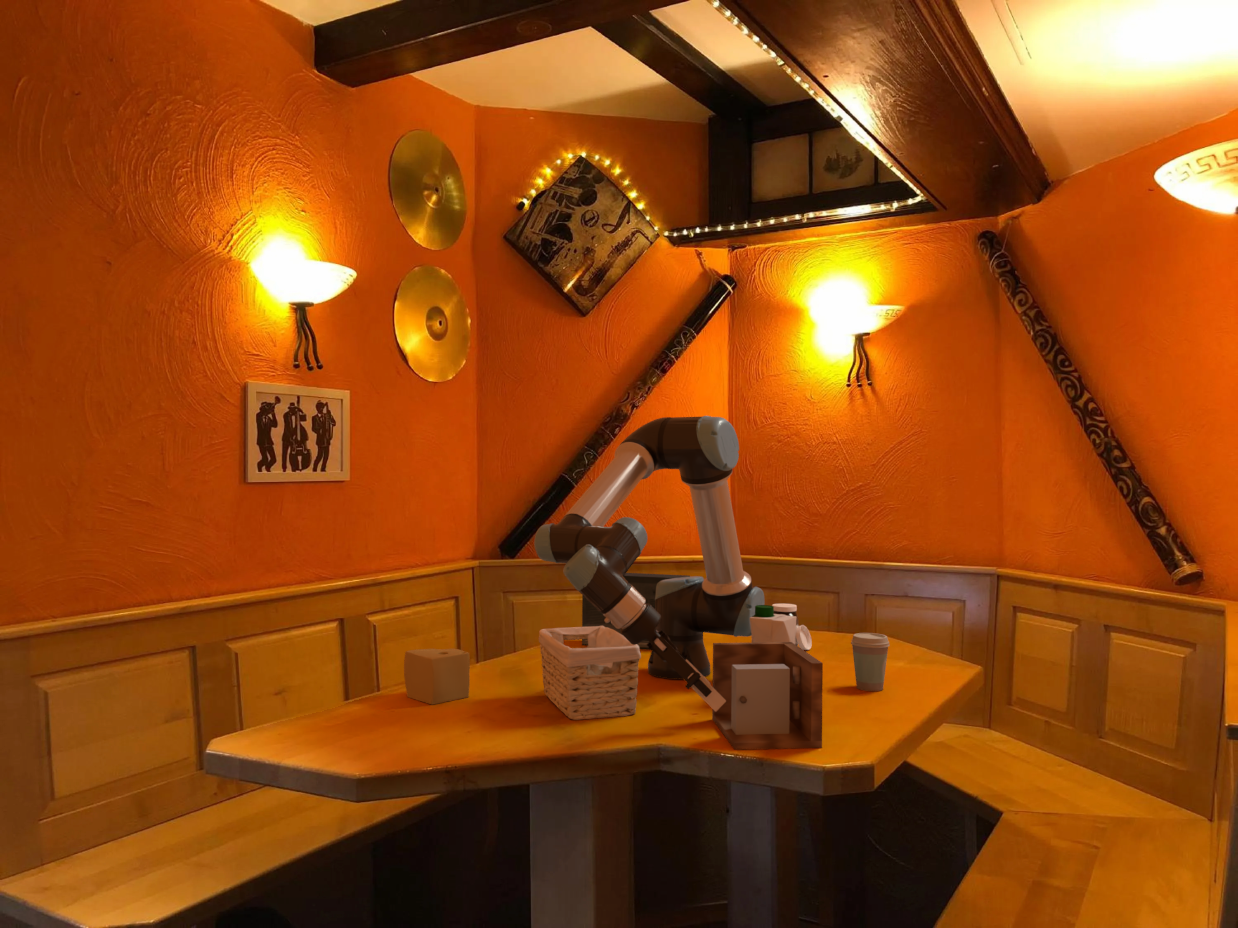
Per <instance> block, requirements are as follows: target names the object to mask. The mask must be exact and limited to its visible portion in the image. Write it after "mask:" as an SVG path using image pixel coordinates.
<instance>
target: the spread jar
mask: <svg viewBox="0 0 1238 928" xmlns="http://www.w3.org/2000/svg"><path fill="white" fill-rule="evenodd" d="M771 606H773V607H774V614H783V615H786V616H796V617H797V618H796V636H795V645H796V646H798V647H799V648H801V649H802V650H805V651H809V650H811V648H812V644H813V643H812V636H811V633H810V630H809V629H808V627H807V626H806V625H804V624H801V625H799V616H798V613H797V610H798V608H797V607H798V605H797V604H794V603H773V604H772V605H771Z"/></svg>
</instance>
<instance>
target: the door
mask: <svg viewBox="0 0 1238 928" xmlns="http://www.w3.org/2000/svg"><path fill="white" fill-rule="evenodd" d="M789 701H790V668H788V667H787V666H786V665H785V664H745V665H732V699H731V729H732V730H733V731H734V733H735V734H736V735H743V734H789Z"/></svg>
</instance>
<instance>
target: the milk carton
mask: <svg viewBox="0 0 1238 928" xmlns="http://www.w3.org/2000/svg"><path fill="white" fill-rule="evenodd" d="M796 618H797V617H796V616H786V615H783V614H774V607H773V606H772V605H770V604H769V605H767V604H764V605H757V606H755V615H754V616H752V617H750V625H751V634H752V635H751V643H762V642H792V643H794V644H795V636H796Z"/></svg>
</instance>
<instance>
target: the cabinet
mask: <svg viewBox="0 0 1238 928" xmlns="http://www.w3.org/2000/svg"><path fill="white" fill-rule="evenodd" d="M745 664H785V665H786V666H787V667H788V668H790V701H789V734H743V735H736V734H735V733H734V731H733V730H732V729H731V699H732V665H745ZM823 664H824V663H823V662H821V661H820V660H819V659H817V658H816V657H814V656H813V655H811V654H810V653H809V652H807V651H806V650H805V651H804V650H802V649H801V648H800V646H799V645H798V646H796V645H795V644H794V643H792V642H762V643H752V642H713V643H712V687H713V688H714V689H715V690H716V691H717V692H718V693H719V694H720V695H721V696H722V697H723V698H724V699H725V700H726V702H725V703H724V704H723V705H722V706H721V707H720V708H719V709H718V710H717V711H716V712H715V711H714V710H713V709H712V708H711V709H712V714H711V716H712V721H713V722H714V724H715V725H716V727H718V729H719V730H720V732H721V733H722V735H723V736H724V737H725V739H726V740H727V742H728V743H729V744H730V746H731V747H732V749H734V751H735V750H737V751H738V750H769V749H770V750H772V749H773V750H775V749H777V750H779V749H819V748H820V749H821V748H822V749H823V681H824V680H823V677H824V676H823V672H824V671H823Z"/></svg>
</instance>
